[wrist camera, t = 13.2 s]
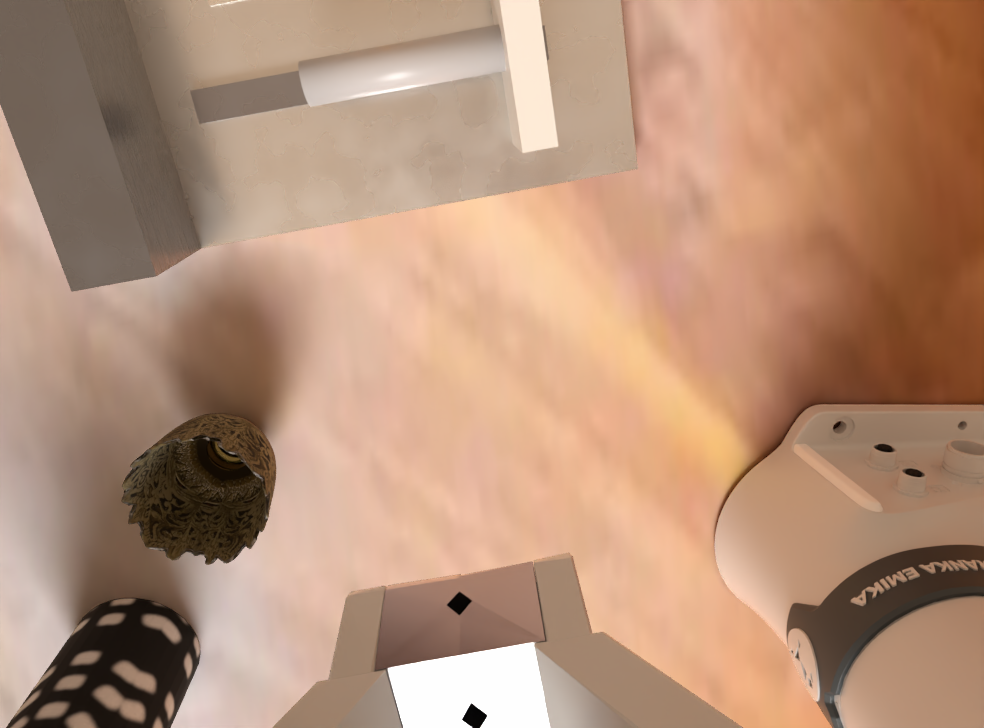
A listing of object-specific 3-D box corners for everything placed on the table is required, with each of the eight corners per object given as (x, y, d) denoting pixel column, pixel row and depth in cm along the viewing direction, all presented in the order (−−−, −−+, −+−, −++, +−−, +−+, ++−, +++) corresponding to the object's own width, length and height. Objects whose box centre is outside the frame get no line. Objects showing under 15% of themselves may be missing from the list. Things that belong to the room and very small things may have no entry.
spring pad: (507, -117, 35) (517, -157, 29) (543, 138, 39) (558, 146, 33) (278, -74, 35) (244, -106, 29) (338, 175, 39) (318, 190, 33)
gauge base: (601, -123, 37) (639, -178, 29) (631, 166, 42) (670, 183, 34) (46, -19, 37) (-58, -47, 30) (140, 255, 42) (71, 291, 34)
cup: (166, 476, 47) (111, 550, 39) (184, 370, 44) (128, 426, 37) (285, 502, 48) (253, 579, 40) (308, 400, 45) (279, 461, 38)
